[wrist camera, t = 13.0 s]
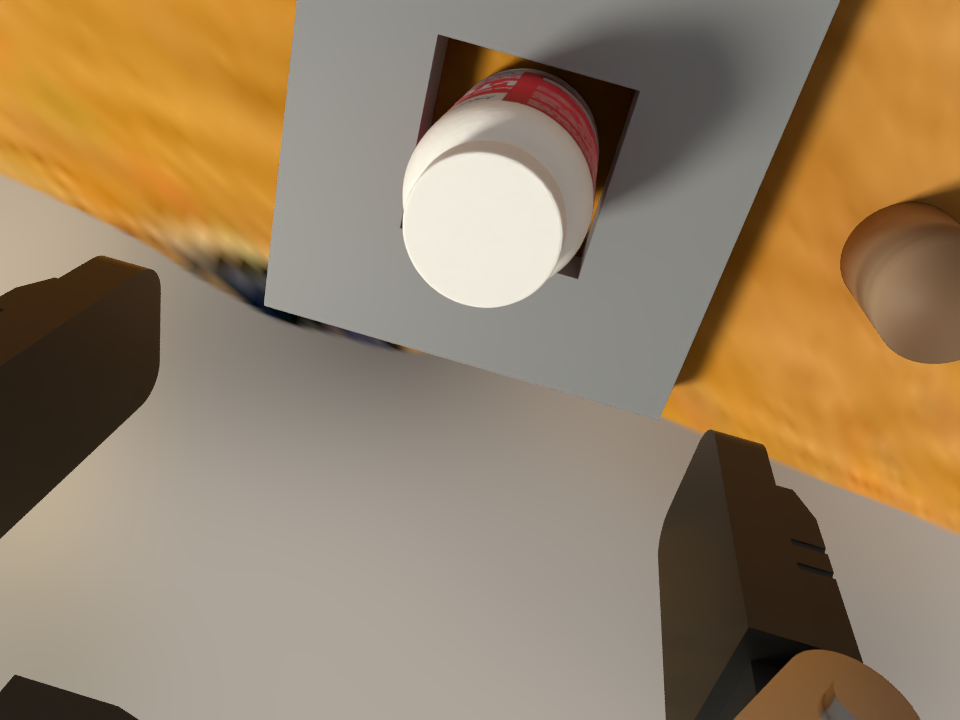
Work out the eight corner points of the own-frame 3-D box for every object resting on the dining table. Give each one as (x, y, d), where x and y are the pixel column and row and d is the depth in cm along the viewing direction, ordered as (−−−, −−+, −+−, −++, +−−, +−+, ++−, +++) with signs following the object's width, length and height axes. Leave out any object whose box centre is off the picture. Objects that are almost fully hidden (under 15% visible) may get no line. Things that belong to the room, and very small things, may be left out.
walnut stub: (984, 220, 30) (1047, 266, 26) (925, 320, 32) (973, 378, 28) (872, 188, 30) (915, 229, 26) (820, 290, 32) (852, 344, 28)
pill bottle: (524, 30, 29) (479, 70, 20) (631, 147, 31) (638, 238, 21) (418, 145, 32) (333, 229, 22) (521, 248, 33) (483, 369, 24)
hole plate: (834, -33, 27) (853, -31, 25) (656, 391, 36) (658, 420, 33) (340, -169, 27) (316, -179, 25) (285, 283, 36) (263, 305, 34)
